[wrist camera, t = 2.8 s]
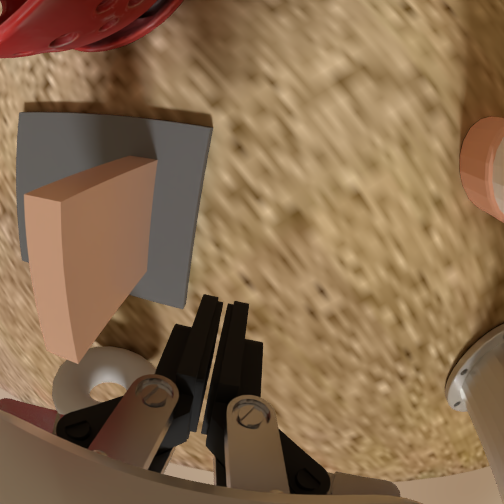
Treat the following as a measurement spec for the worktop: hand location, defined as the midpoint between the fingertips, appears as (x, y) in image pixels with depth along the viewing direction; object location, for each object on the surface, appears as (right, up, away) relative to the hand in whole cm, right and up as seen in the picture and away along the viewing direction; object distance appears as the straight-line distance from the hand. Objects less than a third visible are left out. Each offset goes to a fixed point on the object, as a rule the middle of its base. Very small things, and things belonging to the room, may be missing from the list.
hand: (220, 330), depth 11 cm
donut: (-10, -6, +15) cm, 20 cm away
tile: (-6, +5, +9) cm, 12 cm away
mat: (-10, +7, +9) cm, 15 cm away
